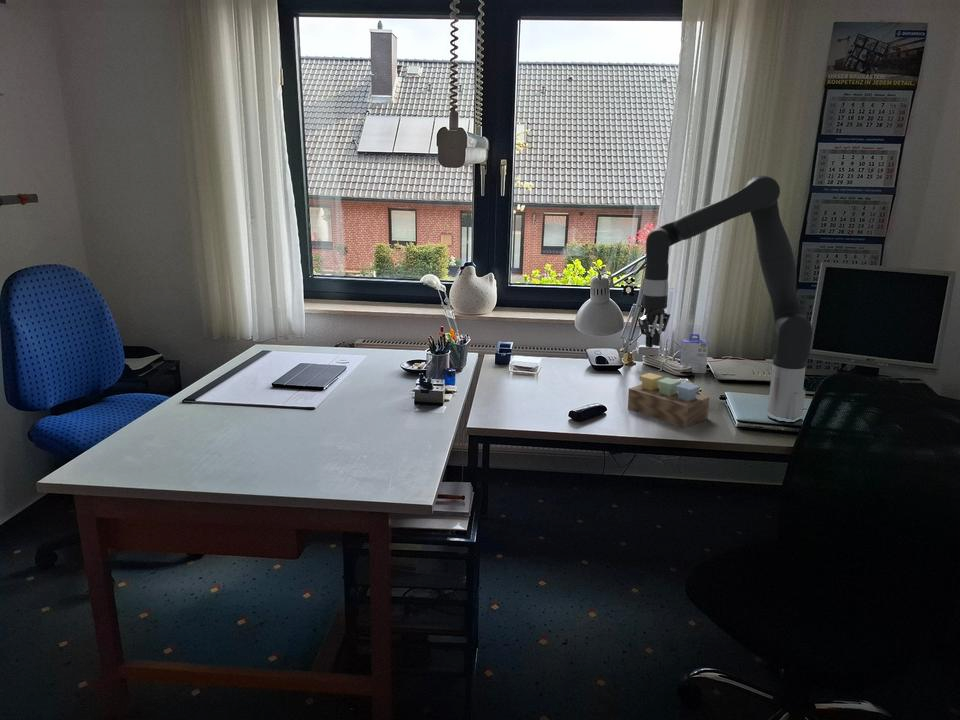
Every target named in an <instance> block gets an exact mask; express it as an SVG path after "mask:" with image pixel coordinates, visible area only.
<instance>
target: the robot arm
mask: <svg viewBox="0 0 960 720" xmlns="http://www.w3.org/2000/svg"><path fill="white" fill-rule="evenodd" d="M780 194H781V188H780V185H779V183H778V182H777V181H776V179H774V178H772V177H770V176H767V175H757V176H754V177H752V178H750V179H749V180H748V181H747V183H746V184H745V186H744V187H743V188H741V189H740V190H738V191H737V192H735V193H734V194H732V195H730V196H728V197H727V196H726V197H725V198H723V199H721V200H719V201H717V202H714V203H710V204H708V205H705V206H702V207H699V208H697V209H695V210H693V211H691V212H689V213H687V214H684V215H683V216H680V217H678V218H677V219H675V220H673V221H671V222H667V223H666V224H663V225H661V226H658V227H656V228H654V229H652V230H651V231H649V233H648V235H647V236H646V241H645V249H646V250H645V259H646V262H645V270H644V282H643V291H642V293H643V294H642V308H644V313H643V316H642V317H638V319H637V322H638V327H639V329H640V332H641V333H640V334H642V335H645V347H646V348H649V349H651V348H654V347H653V346H655V347H658V346H660V343H661V335H662V333H663V332H666V329H667V326H668V323H669V319H670V317H671V314H670V313H666V312H665V309H667V308H668V296H669V271H670V270H669V255H670V247H671V246H673V245H676V244H678V243H680V242H682V241H686V240H689V239H692V238H694V237H696V236H698V235H700V234H703V233H704V232H707V231H709V230H711V229H714V228H716V227H717V226H719V225H721V224H723V223H725V222H728V221H730V220H732V219H735V218H737V217H740V216H742V215H745V214H748V213H749V214H750V216H751V219H752V223H753V227H754V232H755V242H756V248H757V249H756V250H757V255H758V260H759V264H760V268H761V272H762V276H763V279H764V283H765V286H766V289H767V291H768V294H769V298H770V301H771V305H772V313H773V323H774V324H773V325H774V330H775V334H776V336H777V345H776V352H775V354H774V355H773V359H772V368H771V378H770V384H769V385H770V386H769V396H768V403H767V404H768V405H767V406H768V407H767V413H768V412H769V413H770V414H772V415H774V416H776V417H780V418H786V419H791V420H794V419H796V418H798V417H800V416H802V417H803V415H804V407H805V399H806V398H805V397H806V390H805V389H804V382H805V375H806V366H807V362H808V359H809V356H810V353H811V345H812V339H813V325H812V323H811V322H810V321H809V320H808V318H806V317H805V315H804V313H803V311H802V308H801V305H800V302H799V299H798V294H797V267H796V260H795V257H794V256H795V255H794V253H793V249H792V246H791V243H790V239H789V237H788V235H787V232H786V229H785V227H784V225H783V223H782V220H781V216H780V215H781V214H780V211H779V205H778V204H779V203H778V200H779V197H780Z"/></svg>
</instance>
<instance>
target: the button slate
mask: <svg viewBox="0 0 960 720" xmlns="http://www.w3.org/2000/svg"><path fill="white" fill-rule="evenodd" d="M675 391H679V392H678V399H681V400H685V401H688V402H689V401H692V400H695V399H696V394H697V393H698V392H701V386H700V385H697V384H693V383H689V382H683V383H681V384H680V385H677V386H676V388H675Z"/></svg>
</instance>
